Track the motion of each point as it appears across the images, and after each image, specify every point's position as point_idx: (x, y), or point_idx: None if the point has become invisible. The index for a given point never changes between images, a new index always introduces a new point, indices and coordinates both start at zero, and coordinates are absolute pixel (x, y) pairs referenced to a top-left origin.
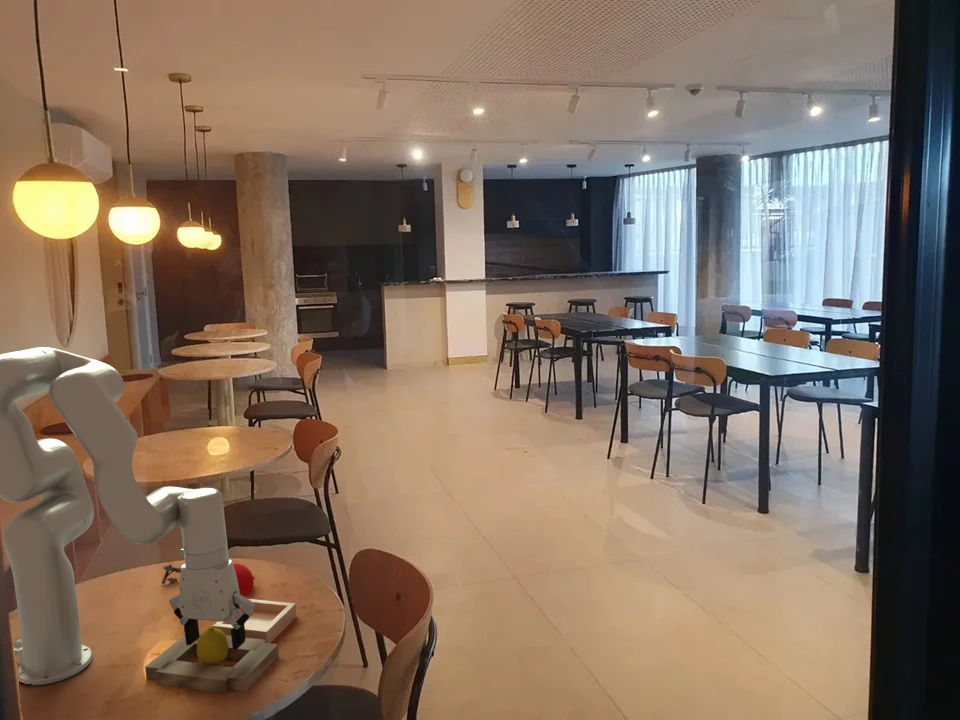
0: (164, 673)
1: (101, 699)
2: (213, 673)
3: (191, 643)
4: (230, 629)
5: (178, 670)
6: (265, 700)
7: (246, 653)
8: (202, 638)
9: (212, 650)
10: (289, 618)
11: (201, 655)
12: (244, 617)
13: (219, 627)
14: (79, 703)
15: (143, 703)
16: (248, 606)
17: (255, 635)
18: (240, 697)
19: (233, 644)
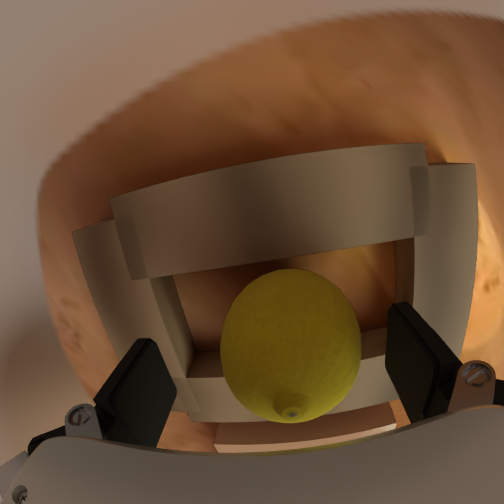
0: (388, 144)
1: (464, 55)
2: (181, 216)
3: (388, 317)
4: (336, 432)
5: (347, 177)
6: (46, 219)
7: (204, 369)
8: (309, 341)
9: (238, 307)
10: None
11: (295, 276)
12: (33, 445)
13: (373, 426)
14: (484, 40)
15: (352, 50)
16: (4, 480)
17: (252, 432)
18: (92, 199)
19: (136, 350)
